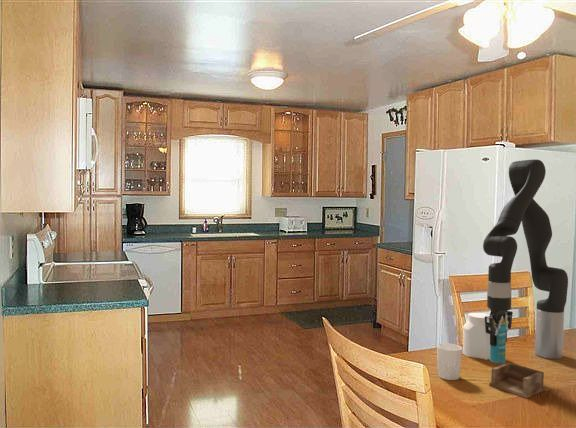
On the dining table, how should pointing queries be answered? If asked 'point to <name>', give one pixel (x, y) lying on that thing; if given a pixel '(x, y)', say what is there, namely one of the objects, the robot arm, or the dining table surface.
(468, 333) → the jar
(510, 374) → the u rest
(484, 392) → the dining table surface
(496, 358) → the tube
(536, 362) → the dining table surface
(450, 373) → the white cup
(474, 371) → the dining table surface
